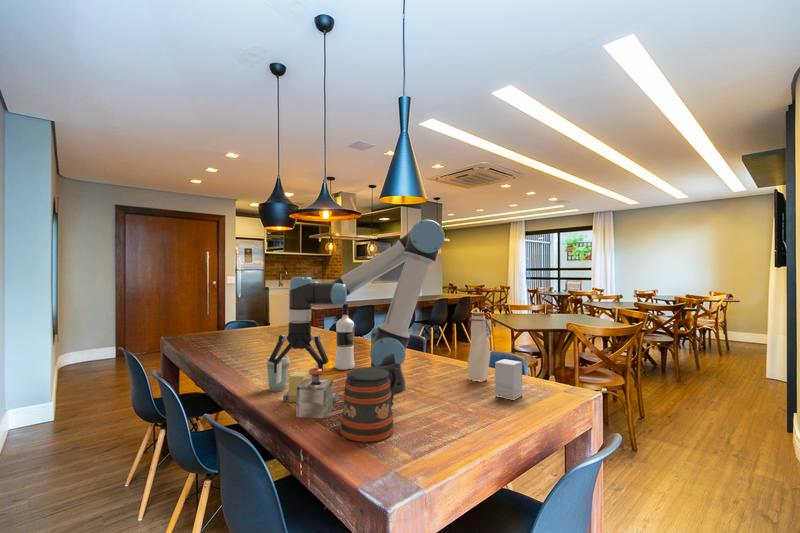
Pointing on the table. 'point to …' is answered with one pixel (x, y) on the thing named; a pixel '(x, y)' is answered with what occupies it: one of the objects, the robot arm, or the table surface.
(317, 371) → the plunger
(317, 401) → the grey open box
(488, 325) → the water bottle
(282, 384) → the coffee cup
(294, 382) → the carriage
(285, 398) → the rail
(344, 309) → the vodka
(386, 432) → the beer stein
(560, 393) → the table surface
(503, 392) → the supplement box
